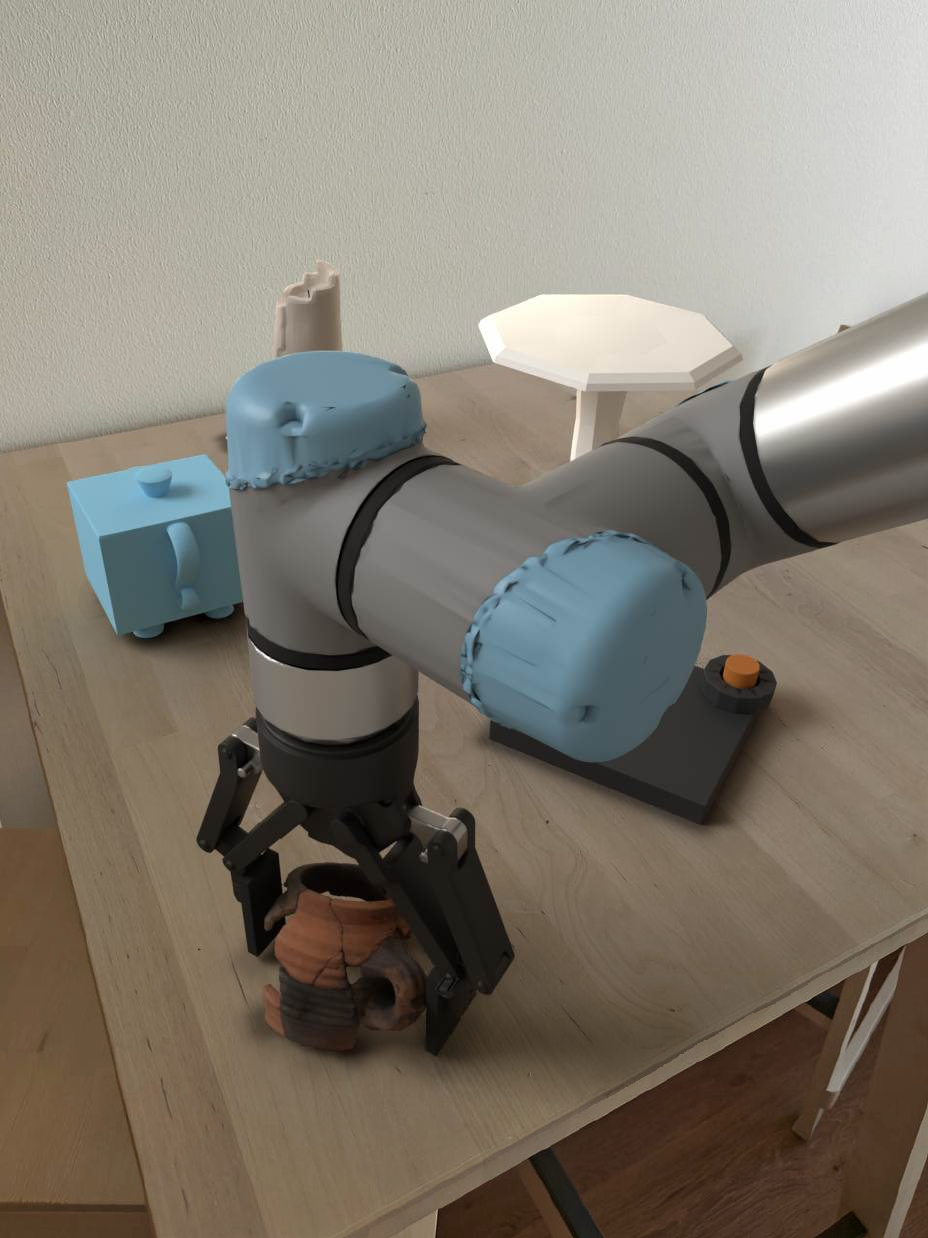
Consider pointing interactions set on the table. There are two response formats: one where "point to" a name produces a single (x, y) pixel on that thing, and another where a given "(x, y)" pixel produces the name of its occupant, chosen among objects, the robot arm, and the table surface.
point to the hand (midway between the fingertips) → (351, 985)
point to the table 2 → (607, 352)
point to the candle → (310, 314)
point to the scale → (674, 744)
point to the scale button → (741, 671)
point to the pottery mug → (340, 960)
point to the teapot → (158, 543)
